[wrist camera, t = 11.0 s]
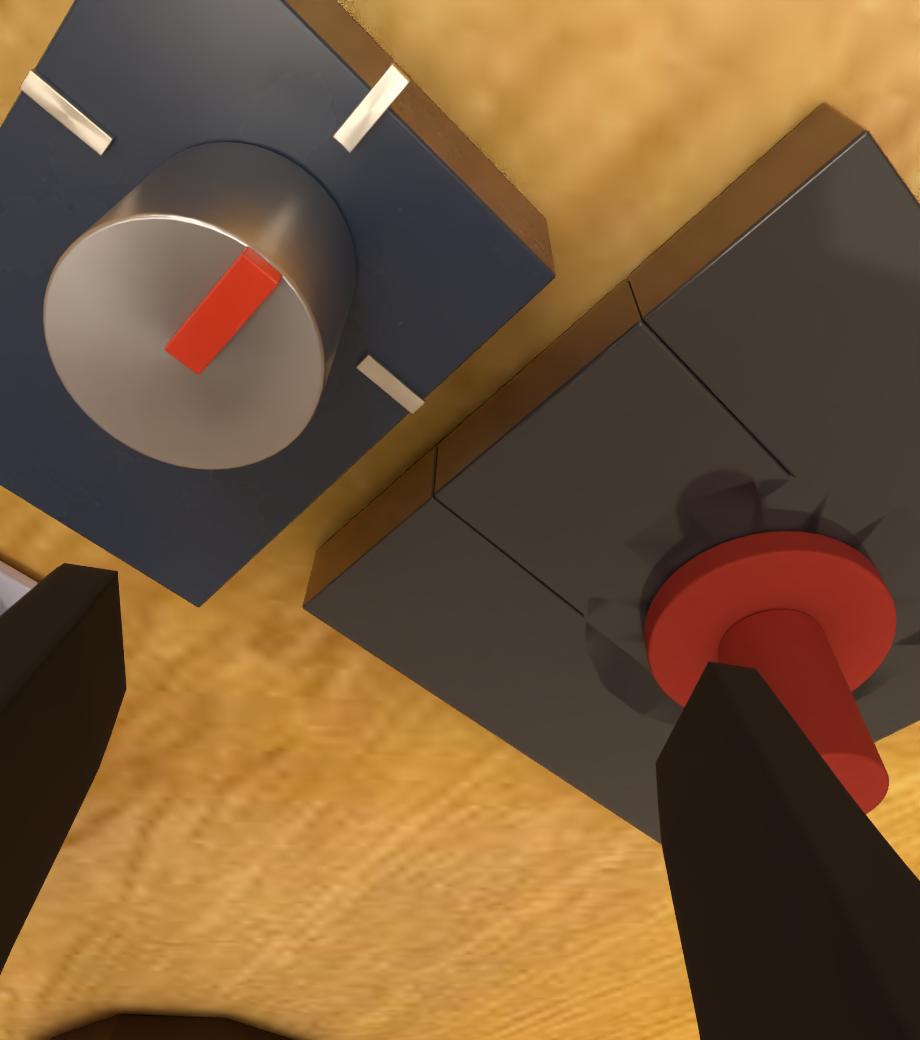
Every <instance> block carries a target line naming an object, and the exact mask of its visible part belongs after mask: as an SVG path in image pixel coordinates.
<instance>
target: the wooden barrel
mask: <svg viewBox="0 0 920 1040" xmlns="http://www.w3.org/2000/svg"><path fill="white" fill-rule="evenodd" d="M50 1040H290V1039H287V1038H284V1037H281V1036H278V1035H275V1034H272V1033H268V1032H265V1031H262V1030H259V1029H256V1028H253V1027H250V1026H247V1025H244V1024H241V1023H238V1022H234V1021H231V1020H228V1019H225V1018H197V1017H169V1016H141V1015H117V1016H115V1017H112V1018H109V1019H106V1020H103V1021H100V1022H97V1023H94V1024H91V1025H88V1026H85V1027H83V1028H80V1029H77V1030H74V1031H71V1032H68V1033H65V1034H62V1035H59V1036H56V1037H53V1038H51V1039H50Z"/></svg>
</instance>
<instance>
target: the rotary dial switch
mask: <svg viewBox="0 0 920 1040" xmlns="http://www.w3.org/2000/svg"><path fill="white" fill-rule="evenodd" d="M20 89H21V90H22V91H21V93H20V95H19V96H18V98H17V100H16V101H15V103H14V105H13V107H12V108H11V110H10V112H9V113H8V115H7V117H6V118H5V120H4V122H3V124H2V125H1V127H0V485H1V486H3V487H4V488H6V489H8V490H9V491H11V492H13V493H14V494H16V495H17V496H19V497H21V498H22V499H24V500H25V501H27V502H29V503H30V504H32V505H34V506H35V507H37V508H38V509H40V510H42V511H43V512H45V513H46V514H48V515H50V516H51V517H53V518H55V519H56V520H58V521H59V522H61V523H63V524H64V525H66V526H67V527H69V528H71V529H72V530H74V531H75V532H77V533H79V534H80V535H82V536H84V537H85V538H87V539H88V540H90V541H92V542H93V543H95V544H96V545H98V546H100V547H101V548H103V549H105V550H106V551H108V552H109V553H111V554H113V555H114V556H116V557H117V558H119V559H121V560H122V561H124V562H125V563H127V564H129V565H130V566H132V567H134V568H135V569H137V570H138V571H140V572H142V573H143V574H145V575H146V576H148V577H150V578H151V579H153V580H155V581H156V582H158V583H159V584H161V585H163V586H164V587H166V588H167V589H169V590H171V591H172V592H174V593H175V594H177V595H179V596H180V597H182V598H184V599H185V600H187V601H188V602H190V603H192V604H193V605H195V606H196V607H200V606H202V605H203V604H204V603H205V602H206V601H207V600H208V599H209V598H210V597H211V596H212V595H213V594H214V593H216V592H217V591H218V590H219V589H220V588H221V587H222V586H223V585H224V584H225V583H226V582H227V581H229V580H230V579H231V578H232V577H233V576H234V575H235V574H236V573H237V572H238V571H239V570H240V569H241V568H243V567H244V566H245V565H246V564H247V563H248V562H249V561H250V560H251V559H252V558H253V557H254V556H255V555H257V554H258V553H259V552H260V551H261V550H262V549H263V548H264V547H265V546H266V545H267V544H268V543H269V542H271V541H272V540H273V539H274V538H275V537H276V536H277V535H278V534H279V533H280V532H281V531H282V530H283V529H285V528H286V527H287V526H288V525H289V524H290V523H291V522H292V521H293V520H294V519H295V518H296V517H297V516H299V515H300V514H301V513H302V512H303V511H304V510H305V509H306V508H307V507H308V506H309V505H310V504H311V503H313V502H314V501H315V500H316V499H317V498H318V497H319V496H320V495H321V494H322V493H323V492H324V491H325V490H327V489H328V488H329V487H330V486H331V485H332V484H333V483H334V482H335V481H336V480H337V479H338V478H339V477H341V476H342V475H343V474H344V473H345V472H346V471H347V470H348V469H349V468H350V467H351V466H352V465H353V464H355V463H356V462H357V461H358V460H359V459H360V458H361V457H362V456H363V455H364V454H365V453H366V452H368V451H369V450H370V449H371V448H372V447H373V446H374V445H375V444H376V443H377V442H378V441H379V440H380V439H382V438H383V437H384V436H385V435H386V434H387V433H388V432H389V431H390V430H391V429H392V428H393V427H394V426H396V425H397V424H398V423H399V422H400V421H401V420H402V419H403V418H404V417H405V416H406V415H407V414H408V413H412V414H413V413H415V412H416V411H417V410H418V409H419V408H420V407H421V406H422V405H423V404H424V403H425V398H426V397H427V396H428V395H429V394H430V393H431V392H432V391H433V390H434V389H435V388H436V387H438V386H439V385H440V384H441V383H442V382H443V381H444V380H445V379H446V378H447V377H448V376H449V375H450V374H452V373H453V372H454V371H455V370H456V369H457V368H458V367H459V366H460V365H461V364H462V363H463V362H464V361H466V360H467V359H468V358H469V357H470V356H471V355H472V354H473V353H474V352H475V351H476V350H477V349H478V348H480V347H481V346H482V345H483V344H484V343H485V342H486V341H487V340H488V339H489V338H490V337H491V336H493V335H494V334H495V333H496V332H497V331H498V330H499V329H500V328H501V327H502V326H503V325H504V324H505V323H507V322H508V321H509V320H510V319H511V318H512V317H513V316H514V315H515V314H516V313H517V312H518V311H519V310H521V309H522V308H523V307H524V306H525V305H526V304H527V303H528V302H529V301H530V300H531V299H532V298H533V297H535V296H536V295H537V294H538V293H539V292H540V291H541V290H542V289H543V288H544V287H545V286H546V285H547V284H549V283H550V282H551V281H552V280H553V279H554V278H555V276H556V275H555V269H554V263H553V257H552V251H551V246H550V240H549V234H548V228H547V222H546V219H545V218H544V217H543V216H542V215H541V214H540V213H539V212H538V211H537V210H536V209H535V208H534V207H533V205H532V204H531V203H530V202H529V201H528V200H527V199H526V198H525V197H524V196H523V195H522V194H521V193H520V192H519V191H518V190H517V189H516V188H515V187H514V186H513V185H512V184H511V183H510V181H509V180H508V179H507V178H506V177H505V176H504V175H503V174H502V173H501V172H500V171H499V170H498V169H497V168H496V167H495V166H494V165H493V164H492V163H491V162H490V161H489V160H488V159H487V157H486V156H485V155H484V154H483V153H482V152H481V151H480V150H479V149H478V148H477V147H476V146H475V145H474V144H473V143H472V142H471V141H470V140H469V139H468V138H467V137H466V136H465V135H464V133H463V132H462V131H461V130H460V129H459V128H458V127H457V126H456V125H455V124H454V123H453V122H452V121H451V120H450V119H449V118H448V117H447V116H446V115H445V114H444V113H443V112H442V111H441V109H440V108H439V107H438V106H437V105H436V104H435V103H434V102H433V101H432V100H431V99H430V98H429V97H428V96H427V95H426V94H425V93H424V92H423V91H422V90H421V89H420V88H419V87H418V86H417V84H416V83H415V82H414V81H413V80H412V79H411V78H410V77H409V76H408V75H407V74H406V73H405V72H404V71H403V70H402V69H401V68H400V67H399V66H398V65H397V64H396V63H395V62H394V60H393V59H392V58H391V57H390V56H389V55H388V54H387V53H386V52H385V51H384V50H383V49H382V48H381V47H380V46H379V45H378V44H377V43H376V42H375V41H374V40H373V39H372V38H371V36H370V35H369V34H368V33H367V32H366V31H365V30H364V29H363V28H362V27H361V26H360V25H359V24H358V23H357V22H356V21H355V20H354V19H353V18H352V17H351V16H350V15H349V14H348V12H347V11H346V10H345V9H344V8H343V7H342V6H341V5H340V4H339V3H338V2H337V1H336V0H75V1H74V3H73V4H72V6H71V8H70V10H69V11H68V13H67V15H66V16H65V18H64V20H63V21H62V23H61V25H60V27H59V28H58V30H57V32H56V33H55V35H54V37H53V38H52V40H51V42H50V44H49V45H48V47H47V49H46V50H45V52H44V54H43V55H42V57H41V59H40V61H39V62H38V64H37V66H36V67H35V68H33V69H31V70H29V72H28V74H27V75H26V77H25V79H24V81H23V82H22V84H21V86H20ZM215 142H236V143H244V144H249V145H254V146H258V147H261V148H264V149H267V150H270V151H272V152H274V153H276V154H279V155H281V156H283V157H285V158H287V159H288V160H290V161H292V162H293V163H295V164H296V165H298V166H299V167H301V168H302V169H303V170H305V171H306V172H307V173H308V174H309V175H311V176H312V177H313V178H314V179H315V180H316V181H317V182H318V183H319V184H320V185H321V186H322V187H323V188H324V189H325V190H326V192H327V193H328V194H329V196H330V197H331V198H332V199H333V201H334V202H335V204H336V205H337V207H338V209H339V210H340V212H341V214H342V215H343V217H344V220H345V222H346V224H347V226H348V229H349V231H350V234H351V238H352V241H353V245H354V250H355V256H356V270H357V276H356V285H355V291H354V295H353V299H352V303H351V306H350V309H349V312H348V315H347V318H346V322H345V325H344V328H343V331H342V334H341V337H340V340H339V344H338V347H337V350H336V353H335V356H334V359H333V363H332V366H331V369H330V372H329V375H328V378H327V381H326V385H325V388H324V391H323V394H322V397H321V400H320V403H319V405H318V407H317V410H316V412H315V414H314V416H313V417H312V419H311V421H310V422H309V424H308V425H307V427H306V428H305V429H304V430H303V431H302V433H301V434H300V435H299V436H298V437H297V438H296V439H295V440H294V441H293V442H291V443H290V444H289V445H288V446H287V447H285V448H284V449H282V450H281V451H279V452H277V453H276V454H274V455H272V456H270V457H268V458H266V459H264V460H261V461H259V462H256V463H253V464H250V465H246V466H242V467H237V468H231V469H218V470H206V469H193V468H187V467H181V466H176V465H173V464H169V463H165V462H162V461H159V460H156V459H154V458H151V457H148V456H146V455H144V454H142V453H140V452H138V451H136V450H134V449H131V448H130V447H128V446H126V445H125V444H123V443H121V442H120V441H118V440H117V439H115V438H114V437H112V436H111V435H110V434H108V433H107V432H106V431H104V430H103V429H102V428H100V427H99V426H98V425H97V424H96V423H95V422H94V421H93V420H92V419H91V418H90V417H89V416H87V414H86V413H85V412H84V411H83V410H82V409H81V408H80V406H79V405H78V404H77V403H76V402H75V401H74V399H73V398H72V396H71V395H70V394H69V392H68V391H67V389H66V388H65V386H64V385H63V383H62V381H61V379H60V377H59V375H58V374H57V372H56V370H55V367H54V365H53V362H52V360H51V357H50V354H49V351H48V347H47V343H46V339H45V332H44V324H43V307H44V298H45V293H46V287H47V285H48V282H49V279H50V276H51V273H52V271H53V269H54V268H55V266H56V264H57V262H58V260H59V259H60V257H61V256H62V255H63V253H64V252H65V251H66V250H67V249H68V247H69V246H70V245H71V244H72V243H73V242H74V241H75V240H77V239H78V238H79V237H80V236H81V235H82V234H83V233H84V232H86V231H87V230H88V229H89V228H90V227H91V226H92V225H93V224H95V223H96V222H97V221H98V220H99V219H100V218H101V217H103V216H104V215H105V214H106V213H107V212H108V211H109V210H110V209H112V208H113V207H114V206H115V205H116V204H117V203H118V202H119V201H121V200H122V199H123V198H124V197H125V196H126V195H127V194H128V193H130V192H131V191H132V190H133V189H134V188H135V187H136V186H137V185H139V184H140V183H141V182H142V181H143V180H144V179H145V178H146V177H148V176H149V175H150V174H151V173H152V172H153V171H154V170H156V169H157V168H158V167H159V166H160V165H161V164H163V163H164V162H165V161H166V160H167V159H169V158H171V157H172V156H174V155H176V154H177V153H179V152H181V151H184V150H186V149H189V148H191V147H194V146H198V145H202V144H206V143H215Z"/></svg>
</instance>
